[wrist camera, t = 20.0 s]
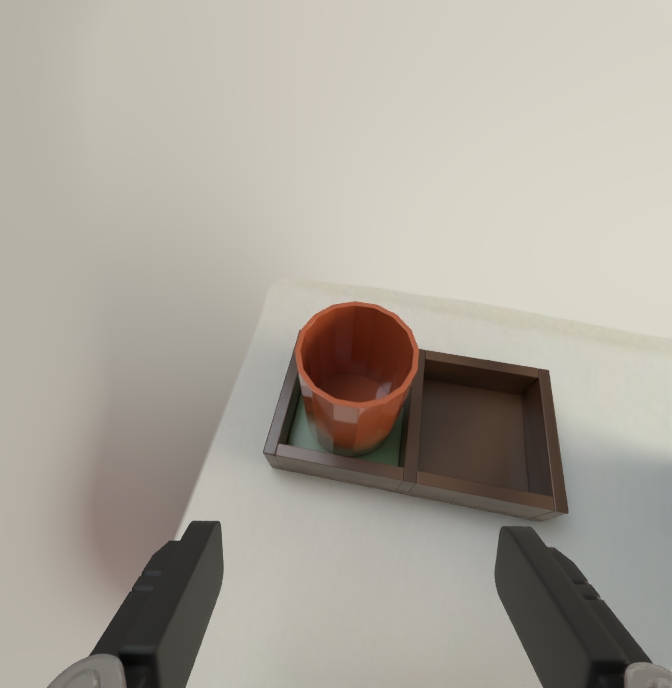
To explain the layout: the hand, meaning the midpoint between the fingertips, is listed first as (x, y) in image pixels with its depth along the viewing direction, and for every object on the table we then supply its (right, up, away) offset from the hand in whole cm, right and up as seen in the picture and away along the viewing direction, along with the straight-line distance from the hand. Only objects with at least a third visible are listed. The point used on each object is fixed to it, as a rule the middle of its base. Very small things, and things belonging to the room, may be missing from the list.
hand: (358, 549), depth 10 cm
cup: (0, +1, +17) cm, 17 cm away
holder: (+5, 0, +17) cm, 18 cm away
